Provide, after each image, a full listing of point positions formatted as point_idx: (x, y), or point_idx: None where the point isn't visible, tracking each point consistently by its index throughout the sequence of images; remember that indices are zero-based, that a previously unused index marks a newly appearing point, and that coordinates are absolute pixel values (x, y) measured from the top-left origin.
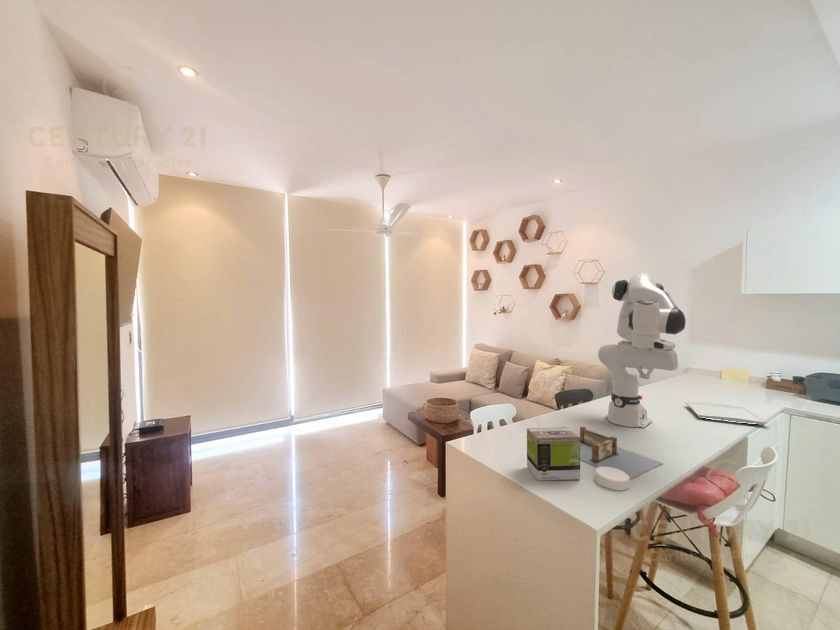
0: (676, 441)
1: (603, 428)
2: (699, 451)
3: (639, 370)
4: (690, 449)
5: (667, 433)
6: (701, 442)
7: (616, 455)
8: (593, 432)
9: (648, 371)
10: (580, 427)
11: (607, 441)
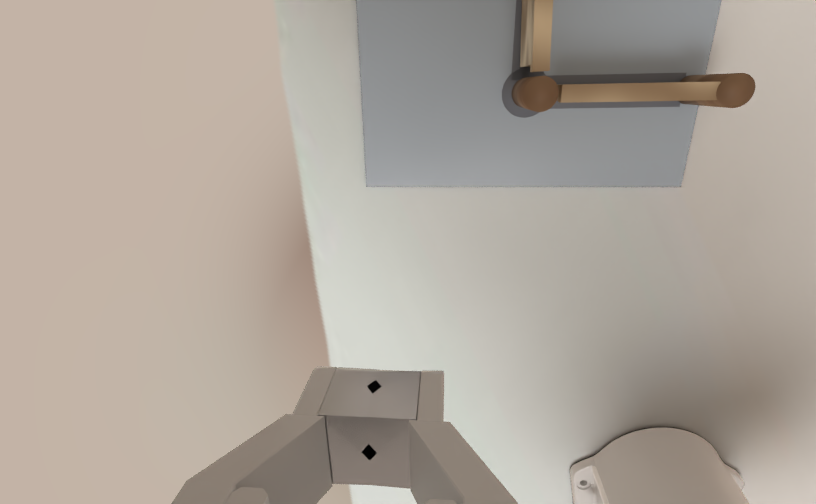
0: None
1: (689, 346)
2: None
3: (440, 466)
4: None
5: None
6: None
7: (505, 82)
8: (659, 87)
9: (246, 463)
10: (751, 79)
11: (542, 23)
